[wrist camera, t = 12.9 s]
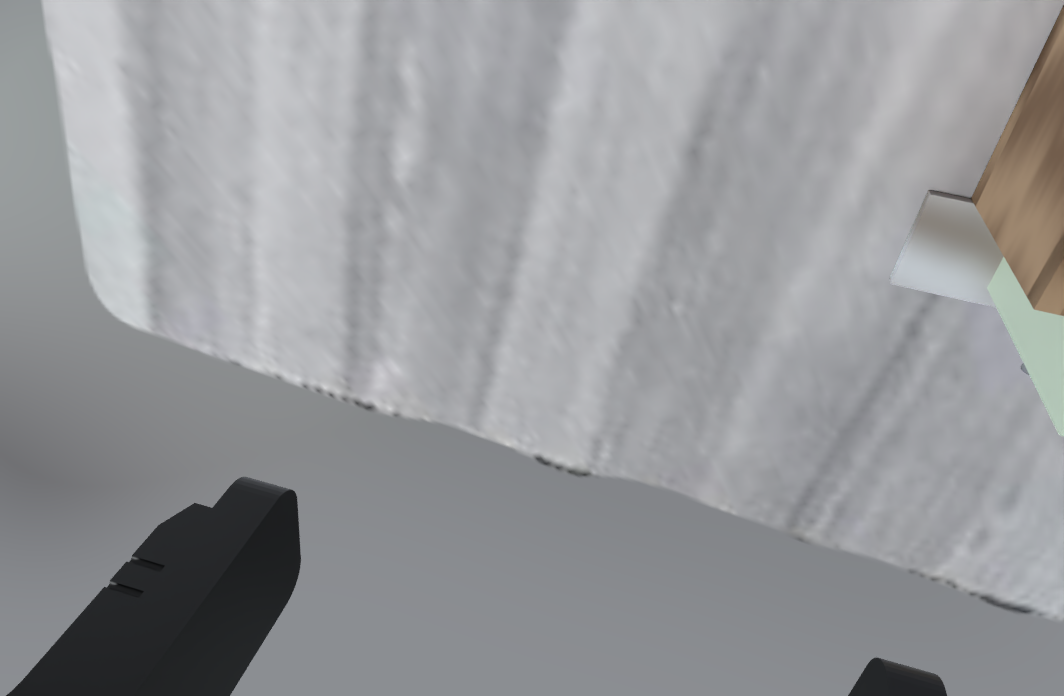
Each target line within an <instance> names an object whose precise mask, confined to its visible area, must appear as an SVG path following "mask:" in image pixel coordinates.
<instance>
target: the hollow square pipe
mask: <svg viewBox="0 0 1064 696" xmlns="http://www.w3.org/2000/svg"><path fill="white" fill-rule="evenodd" d="M987 289H988V291H989V293H990V295H991V297H992V299H993V302H994V304H995V306H996V308H997V310H998V312H999V314H1000V316H1001V318H1002V320H1003V322H1004V324H1005V326H1006V328H1007V330H1008V332H1009V334H1010V336H1011V338H1012V340H1013V342H1014V344H1015V346H1016V348H1017V350H1018V353H1019V355H1020V357H1021V359H1022V361H1023V364H1022V366H1021V369H1022V371H1023V372H1025V373H1026V374H1028V375H1030V377H1031V379H1032V381H1033V383H1034V385H1035V387H1036V389H1037V391H1038V393H1039V395H1040V397H1041V399H1042V401H1043V404H1044V406H1045V408H1046V410H1047V412H1048V414H1049V416H1050V418H1051V420H1052V422H1053V424H1054V426H1055V428H1056V430H1057V432H1058V434H1059V435H1060V436H1064V316H1061V315H1056V314H1052V313H1047V312H1043V311H1038V310H1034V309H1033V307H1032V305H1031V303H1030V302H1029V300H1028V298H1027V296H1026V295H1025V293H1024V291H1023V289H1022V288H1021V286H1020V284H1019V282H1018V281H1017V279H1016V277H1015V275H1014V274H1013V272H1012V270H1011V268H1010V266H1009V265H1008V263H1007V261H1006V259H1005V258H1004V257H1003V259H1002V261H1001V263H1000V264H999V266H998V268H997V270H996V272H995V274H994V276H993V278H992V280H991V282H990V283H989V285H988V287H987Z"/></svg>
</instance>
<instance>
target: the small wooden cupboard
mask: <svg viewBox="0 0 1064 696" xmlns="http://www.w3.org/2000/svg"><path fill="white" fill-rule="evenodd" d="M1003 257H1004V258H1005V259H1006V261H1007V263H1008V265H1009V266H1010V268H1011V270H1012V272H1013V274H1014V275H1015V277H1016V279H1017V281H1018V282H1019V284H1020V286H1021V288H1022V289H1023V291H1024V293H1025V295H1026V296H1027V298H1028V300H1029V302H1030V303H1031V305H1032V307H1033V309H1034V310H1038V311H1043V312H1047V313H1052V314H1056V315H1061V316H1064V6H1063V8H1062V10H1061V12H1060V14H1059V16H1058V18H1057V20H1056V22H1055V24H1054V26H1053V29H1052V31H1051V33H1050V35H1049V37H1048V39H1047V41H1046V43H1045V45H1044V47H1043V49H1042V52H1041V54H1040V56H1039V58H1038V60H1037V62H1036V64H1035V66H1034V68H1033V70H1032V72H1031V75H1030V77H1029V79H1028V81H1027V83H1026V85H1025V87H1024V89H1023V91H1022V93H1021V95H1020V98H1019V100H1018V102H1017V104H1016V106H1015V108H1014V110H1013V112H1012V114H1011V116H1010V118H1009V121H1008V123H1007V125H1006V127H1005V129H1004V131H1003V133H1002V135H1001V137H1000V139H999V141H998V144H997V146H996V148H995V150H994V152H993V154H992V156H991V158H990V160H989V162H988V165H987V167H986V169H985V171H984V173H983V175H982V177H981V179H980V181H979V183H978V185H977V188H976V190H975V192H974V194H973V196H972V198H971V199H970V198H965V197H960V196H955V195H950V194H946V193H941V192H936V191H931V190H928V193H927V195H926V197H925V199H924V202H923V204H922V206H921V208H920V211H919V213H918V215H917V217H916V220H915V222H914V224H913V226H912V229H911V231H910V233H909V236H908V238H907V240H906V242H905V245H904V247H903V249H902V251H901V254H900V256H899V258H898V260H897V263H896V265H895V267H894V269H893V272H892V274H891V276H890V283H891V284H893V285H897V286H902V287H906V288H911V289H915V290H920V291H924V292H929V293H933V294H937V295H942V296H946V297H951V298H955V299H960V300H964V301H969V302H973V303H977V304H982V305H986V306H991V307H995V308H996V306H995V304H994V302H993V299H992V297H991V295H990V293H989V291H988V289H987V287H988V285H989V283H990V282H991V280H992V278H993V276H994V274H995V272H996V270H997V268H998V266H999V264H1000V263H1001V261H1002V259H1003Z"/></svg>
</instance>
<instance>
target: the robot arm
mask: <svg viewBox="0 0 1064 696" xmlns="http://www.w3.org/2000/svg"><path fill="white" fill-rule="evenodd" d="M297 506H298V505H297V496H296V493H295V492H294V491H293V490H290V489H287V488H283V487H279V486H276V485H273V484H269V483H265V482H262V481H259V480H255V479H252V478H248V477H241V478H239V479H237V480H236V481H235V482H234V483H233V484H232V485H231V486H230V487H229V488H228V490H227V491H226V492H225V493H224V494H223V496H222V497H221V498H220V499H219V501H218V502H217V503H216V504H215V506H214V507H213V508H210V507H207V506H204V505H200V504H196V503H194V504H192V505H191V506H189V507H188V508H186V509H184V510H183V511H181V512H179V513H178V514H176V515H174V516H173V517H171V518H170V519H168V520H166V521H165V522H163V523H161V524H160V525H158V527H157V528H156V529H155V530H154V531H153V532H152V533H151V534H150V536H149V537H148V538H147V539H146V540H145V541H144V543H143V544H142V545H141V546H140V547H139V548H138V549H137V550H136V552H135V553H134V554H133V555H132V559H131V561H130V562H126V563H125V564H124V565H123V566H122V568H121V569H120V570H119V571H118V572H117V573H116V574H115V575H114V577H113V578H112V579H111V580H110V584H109V586H108V587H107V588H106V587H104V588H103V589H102V590H101V591H100V593H99V594H98V595H97V596H96V597H95V599H94V600H93V601H92V602H91V603H90V604H89V605H88V606H87V607H86V609H85V610H84V611H83V612H82V613H81V614H80V615H79V617H78V618H77V619H76V620H75V621H74V622H73V623H72V624H71V626H70V627H69V628H68V629H67V630H66V631H65V632H64V634H63V635H62V636H61V637H60V638H59V639H58V640H57V642H56V643H55V644H54V645H53V646H52V647H51V648H50V650H49V651H48V652H47V653H46V654H45V655H44V656H43V658H42V659H41V660H40V661H39V662H38V663H37V664H36V666H35V667H34V668H33V669H32V670H31V671H30V672H29V674H28V675H27V676H26V677H25V678H24V679H23V680H22V681H21V682H20V683H19V684H18V685H17V686H16V687H15V688H14V690H12V691H11V692H10V693H9V694H8V695H6V696H230V694H231V693H232V691H233V690H234V688H235V686H236V685H237V683H238V681H239V680H240V678H241V677H242V675H243V674H244V672H245V670H246V669H247V667H248V666H249V664H250V662H251V660H252V659H253V657H254V656H255V654H256V653H257V651H258V649H259V648H260V646H261V645H262V643H263V641H264V640H265V638H266V636H267V635H268V633H269V631H270V630H271V629H272V627H273V625H274V624H275V622H276V620H277V618H278V617H279V616H280V614H281V612H282V611H283V609H284V607H285V606H286V604H287V603H288V600H289V599H290V597H291V595H292V592H293V590H294V588H295V585H296V582H297V579H298V575H299V570H300V563H301V555H300V538H299V522H298V507H297ZM848 696H947V694H946V690H945V687H944V684H943V682H942V680H941V679H940V677H938V675H936V674H933V673H930V672H926V671H922V670H919V669H916V668H912V667H909V666H905V665H901V664H898V663H894V662H891V661H887V660H884V659H880V658H874V659H872V660H871V661H870V662H869V663H868V665H867V666H866V668H865V669H864V671H863V673H862V674H861V676H860V677H859V679H858V681H857V682H856V684H855V686H854V687H853V689H852V690H851V692H850V694H849V695H848Z"/></svg>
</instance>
